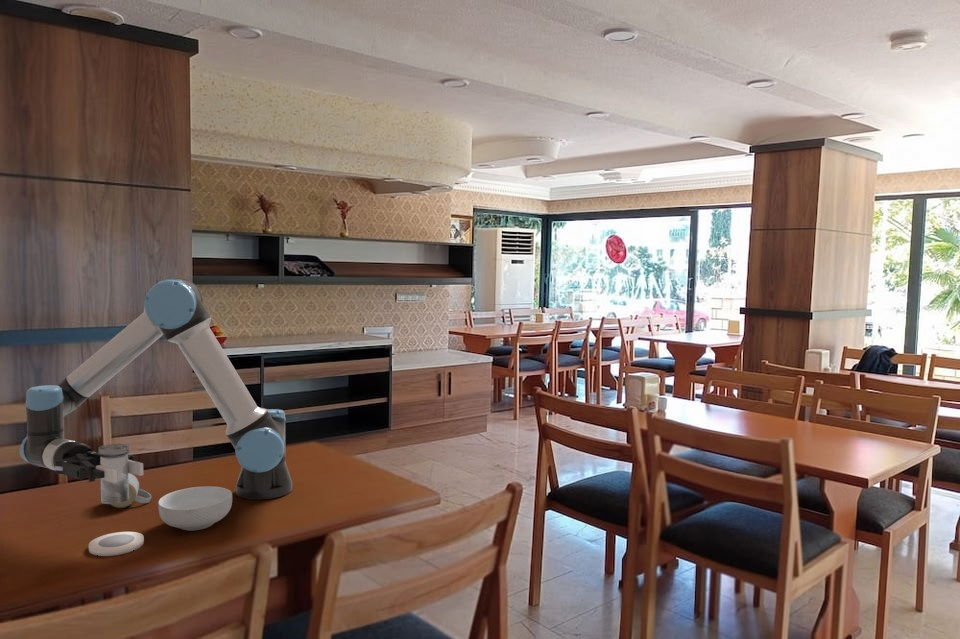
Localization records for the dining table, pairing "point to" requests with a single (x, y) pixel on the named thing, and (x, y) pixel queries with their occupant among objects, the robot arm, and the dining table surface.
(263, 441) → the robot arm
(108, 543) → the round white coaster
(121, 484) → the lidded glass jar
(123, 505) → the ceramic mug
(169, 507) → the cereal bowl
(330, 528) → the dining table surface
